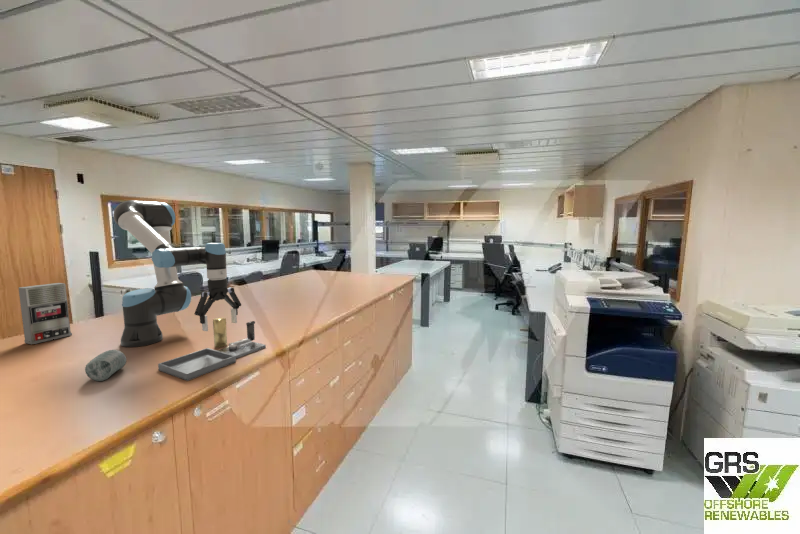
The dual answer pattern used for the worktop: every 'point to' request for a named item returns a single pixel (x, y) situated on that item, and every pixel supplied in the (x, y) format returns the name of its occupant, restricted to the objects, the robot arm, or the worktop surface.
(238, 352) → the crank plate
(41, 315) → the cassette tape recorder
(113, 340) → the worktop surface
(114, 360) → the spool
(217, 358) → the tray
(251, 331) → the crank lever
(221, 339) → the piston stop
